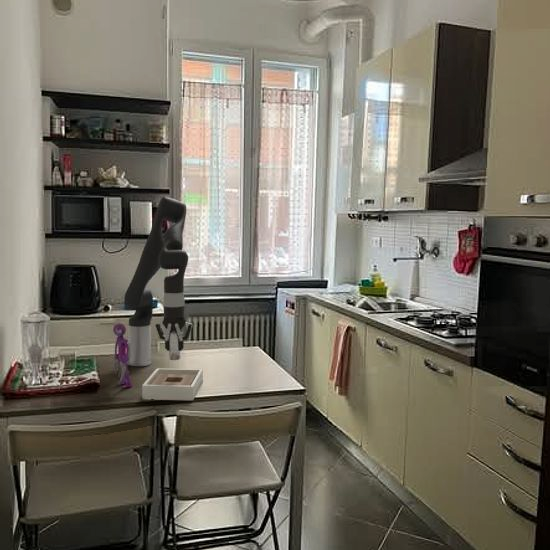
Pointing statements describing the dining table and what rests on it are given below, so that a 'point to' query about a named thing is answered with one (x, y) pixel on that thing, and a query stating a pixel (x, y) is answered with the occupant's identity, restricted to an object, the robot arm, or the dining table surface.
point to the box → (172, 386)
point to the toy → (121, 355)
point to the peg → (174, 346)
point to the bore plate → (174, 379)
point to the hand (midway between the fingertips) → (174, 350)
